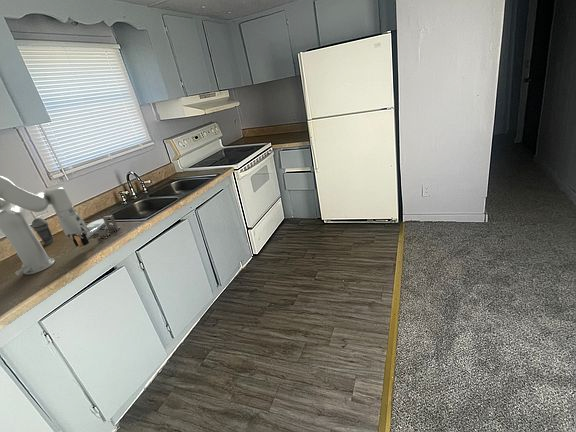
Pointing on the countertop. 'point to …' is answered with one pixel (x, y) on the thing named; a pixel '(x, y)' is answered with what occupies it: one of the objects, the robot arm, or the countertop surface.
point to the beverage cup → (42, 230)
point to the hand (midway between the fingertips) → (82, 244)
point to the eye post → (110, 226)
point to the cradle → (102, 233)
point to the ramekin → (96, 224)
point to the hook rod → (89, 234)
